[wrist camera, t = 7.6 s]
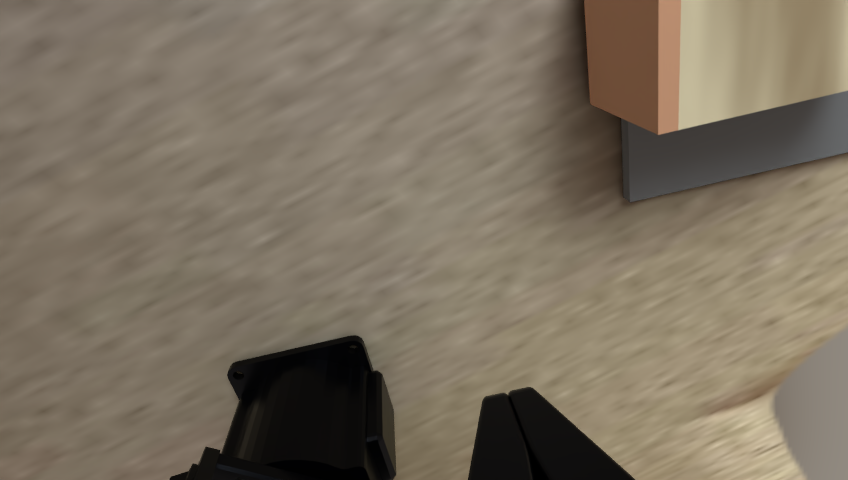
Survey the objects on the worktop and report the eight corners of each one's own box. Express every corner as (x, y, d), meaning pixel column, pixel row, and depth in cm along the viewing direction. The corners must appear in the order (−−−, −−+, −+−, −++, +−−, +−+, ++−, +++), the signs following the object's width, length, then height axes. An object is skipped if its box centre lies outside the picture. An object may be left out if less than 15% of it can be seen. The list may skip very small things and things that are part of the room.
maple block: (658, 134, 14) (996, 55, 14) (658, -62, 12) (1059, -158, 12) (590, 104, 19) (846, 44, 19) (581, -43, 16) (871, -112, 16)
